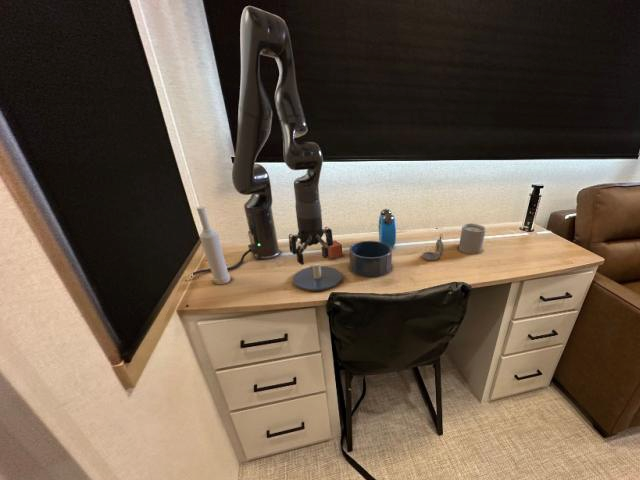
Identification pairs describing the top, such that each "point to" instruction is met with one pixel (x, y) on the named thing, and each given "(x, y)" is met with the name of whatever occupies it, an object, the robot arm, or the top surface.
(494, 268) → the top surface
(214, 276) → the bottle
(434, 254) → the pocket watch
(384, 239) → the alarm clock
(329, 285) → the lid
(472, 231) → the grey cylinder
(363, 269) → the bowl
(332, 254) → the block
